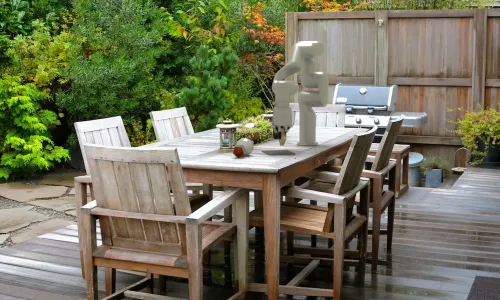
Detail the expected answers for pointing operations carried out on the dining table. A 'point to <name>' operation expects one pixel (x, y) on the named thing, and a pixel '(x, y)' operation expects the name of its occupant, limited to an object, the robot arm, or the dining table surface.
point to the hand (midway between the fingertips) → (282, 138)
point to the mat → (278, 152)
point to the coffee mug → (275, 132)
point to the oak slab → (282, 137)
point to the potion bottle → (243, 147)
